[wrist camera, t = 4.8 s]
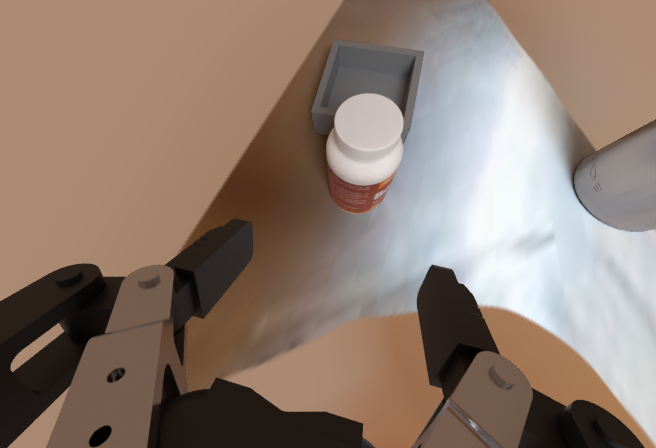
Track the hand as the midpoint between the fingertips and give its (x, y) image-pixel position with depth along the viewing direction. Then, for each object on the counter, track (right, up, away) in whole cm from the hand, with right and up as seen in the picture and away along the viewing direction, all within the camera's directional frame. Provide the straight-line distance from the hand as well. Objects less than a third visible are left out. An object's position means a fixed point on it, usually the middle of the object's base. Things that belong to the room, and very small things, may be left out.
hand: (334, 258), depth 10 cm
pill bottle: (+3, +5, +16) cm, 17 cm away
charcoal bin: (+5, +16, +19) cm, 25 cm away
